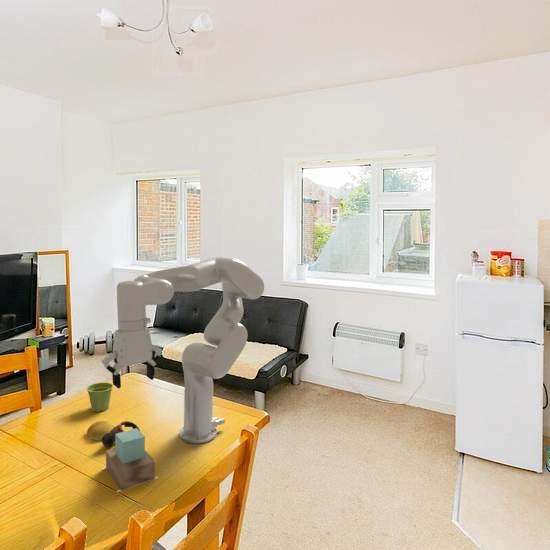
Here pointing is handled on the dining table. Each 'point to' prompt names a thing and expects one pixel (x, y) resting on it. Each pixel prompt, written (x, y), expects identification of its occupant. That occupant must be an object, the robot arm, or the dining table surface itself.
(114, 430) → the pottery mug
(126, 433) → the teal cube
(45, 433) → the dining table surface
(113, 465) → the plinth
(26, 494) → the dining table surface
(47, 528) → the dining table surface
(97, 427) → the bread roll
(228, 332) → the robot arm
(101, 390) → the plant pot
